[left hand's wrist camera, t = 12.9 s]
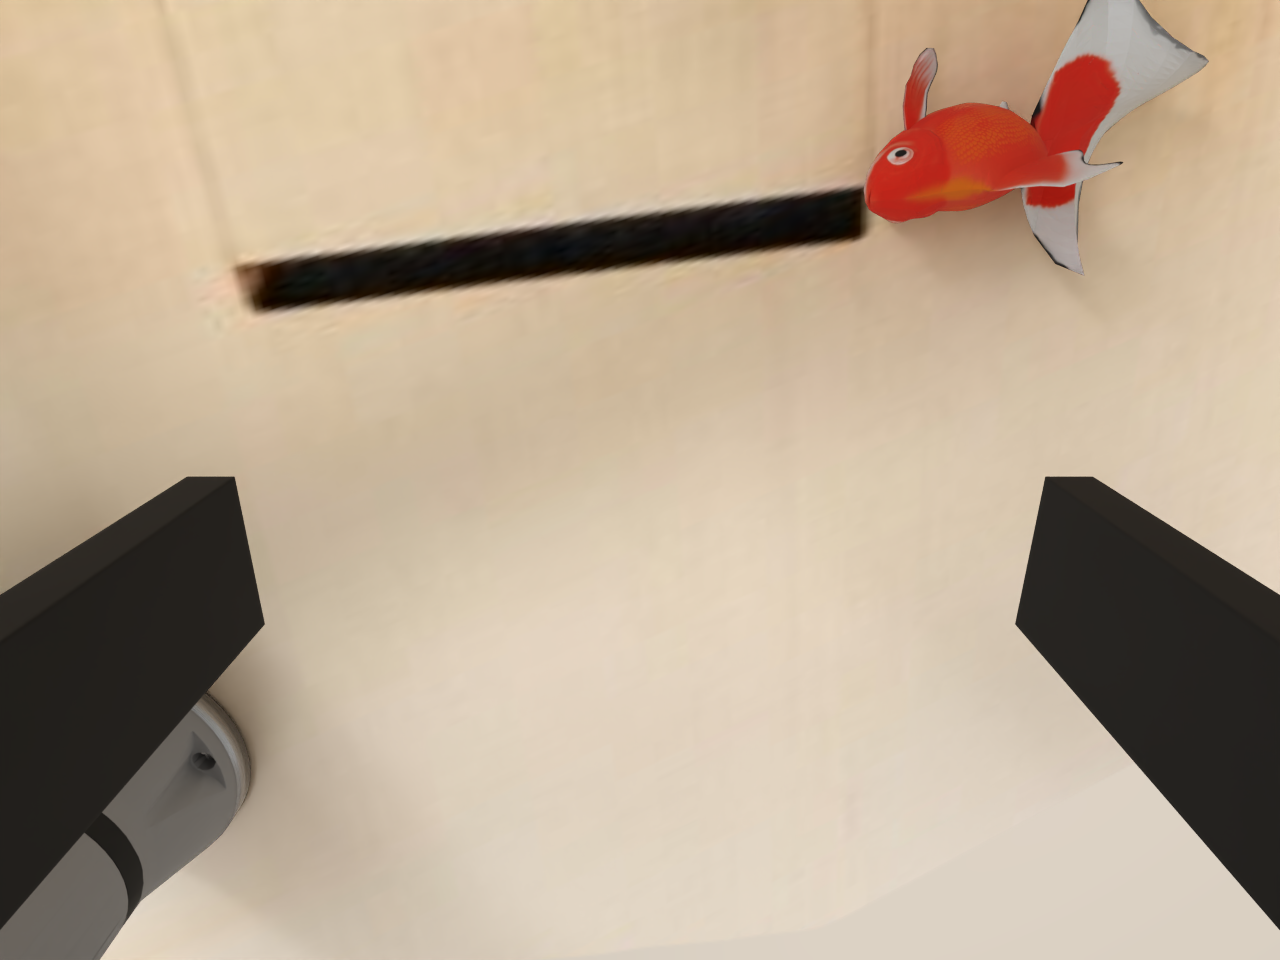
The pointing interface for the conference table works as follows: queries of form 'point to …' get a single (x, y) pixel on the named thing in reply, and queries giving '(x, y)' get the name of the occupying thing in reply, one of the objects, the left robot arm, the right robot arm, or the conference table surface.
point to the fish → (1030, 129)
